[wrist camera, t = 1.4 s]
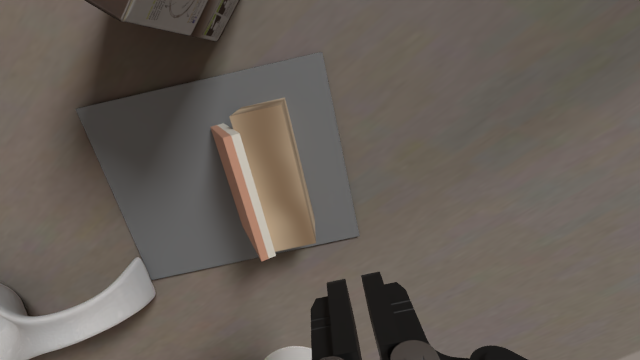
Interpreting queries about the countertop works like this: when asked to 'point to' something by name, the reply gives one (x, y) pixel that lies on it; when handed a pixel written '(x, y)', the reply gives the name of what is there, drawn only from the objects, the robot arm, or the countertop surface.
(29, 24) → the countertop surface
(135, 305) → the spoon rest
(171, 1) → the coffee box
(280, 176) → the block
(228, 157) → the tile
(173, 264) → the mat
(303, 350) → the bracket
